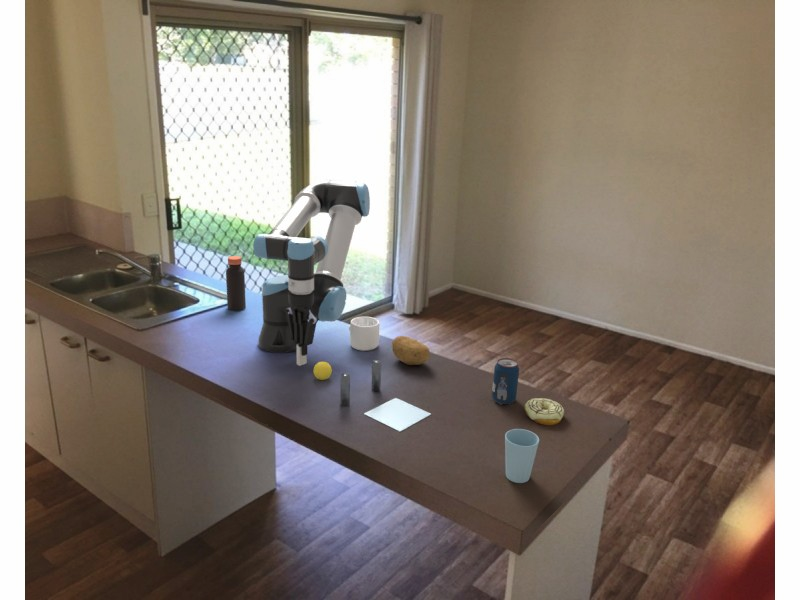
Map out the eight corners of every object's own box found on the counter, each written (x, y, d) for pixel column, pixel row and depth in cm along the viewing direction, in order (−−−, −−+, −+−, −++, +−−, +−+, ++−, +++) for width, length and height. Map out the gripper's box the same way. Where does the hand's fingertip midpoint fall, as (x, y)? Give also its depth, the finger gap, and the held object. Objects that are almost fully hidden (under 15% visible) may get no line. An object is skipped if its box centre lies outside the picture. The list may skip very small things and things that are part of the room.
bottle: (236, 312, 246) (234, 261, 239) (223, 308, 249) (221, 257, 243) (249, 307, 251) (247, 257, 245) (237, 303, 255) (234, 254, 248)
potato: (416, 374, 201) (417, 351, 199) (384, 360, 211) (385, 337, 208) (437, 366, 208) (438, 343, 206) (405, 352, 217) (406, 330, 215)
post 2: (369, 389, 191) (370, 361, 188) (375, 387, 192) (376, 359, 189) (376, 392, 189) (377, 364, 186) (382, 389, 191) (383, 361, 188)
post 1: (338, 404, 181) (338, 375, 178) (344, 401, 183) (345, 372, 180) (344, 407, 180) (345, 378, 177) (351, 404, 182) (352, 375, 179)
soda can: (511, 394, 192) (515, 356, 188) (519, 405, 185) (523, 367, 181) (488, 395, 191) (492, 357, 187) (495, 406, 184) (499, 367, 180)
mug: (364, 336, 229) (365, 312, 226) (388, 344, 223) (389, 319, 221) (342, 346, 220) (343, 321, 217) (366, 354, 214) (367, 329, 211)
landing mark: (363, 414, 177) (363, 413, 177) (395, 398, 186) (395, 397, 186) (399, 431, 169) (400, 431, 169) (431, 414, 178) (431, 413, 178)
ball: (309, 378, 196) (309, 362, 194) (323, 373, 200) (323, 356, 198) (322, 384, 192) (322, 367, 190) (335, 379, 196) (335, 362, 194)
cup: (535, 487, 148) (540, 447, 145) (501, 484, 149) (505, 444, 146) (533, 469, 155) (537, 430, 152) (500, 465, 156) (504, 427, 153)
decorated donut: (528, 426, 175) (529, 413, 174) (521, 407, 185) (522, 395, 184) (566, 427, 175) (568, 415, 174) (557, 408, 185) (559, 396, 184)
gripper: (277, 288, 195) (278, 360, 202) (306, 299, 186) (306, 374, 194) (296, 283, 200) (297, 354, 208) (325, 293, 192) (325, 366, 200)
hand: (301, 363), depth 201 cm, fingers closed
